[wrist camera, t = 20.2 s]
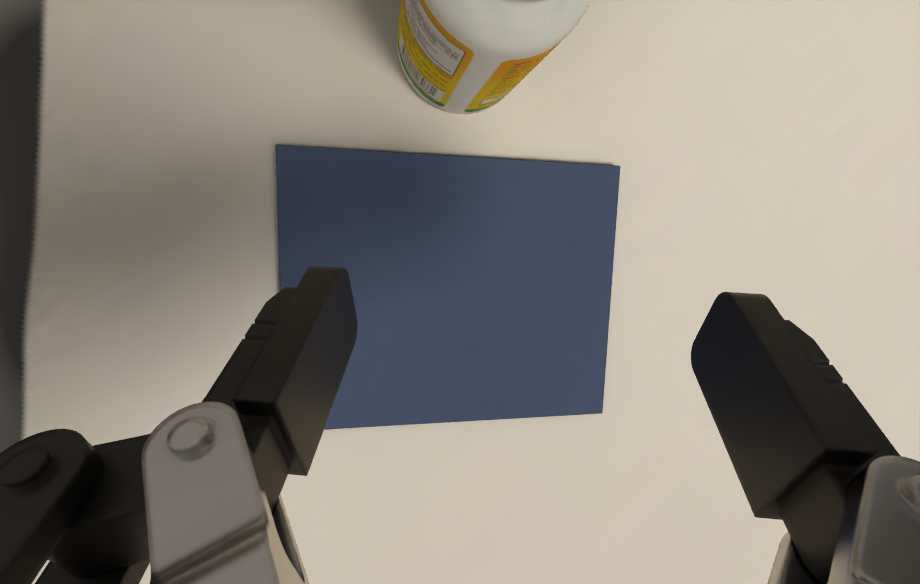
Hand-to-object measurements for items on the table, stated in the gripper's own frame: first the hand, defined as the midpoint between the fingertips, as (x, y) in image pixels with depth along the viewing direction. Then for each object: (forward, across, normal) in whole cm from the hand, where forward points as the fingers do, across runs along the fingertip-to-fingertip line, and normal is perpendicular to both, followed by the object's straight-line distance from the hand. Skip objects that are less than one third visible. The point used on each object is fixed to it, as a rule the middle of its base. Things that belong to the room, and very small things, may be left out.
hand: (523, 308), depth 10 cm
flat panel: (+8, +2, +6) cm, 10 cm away
